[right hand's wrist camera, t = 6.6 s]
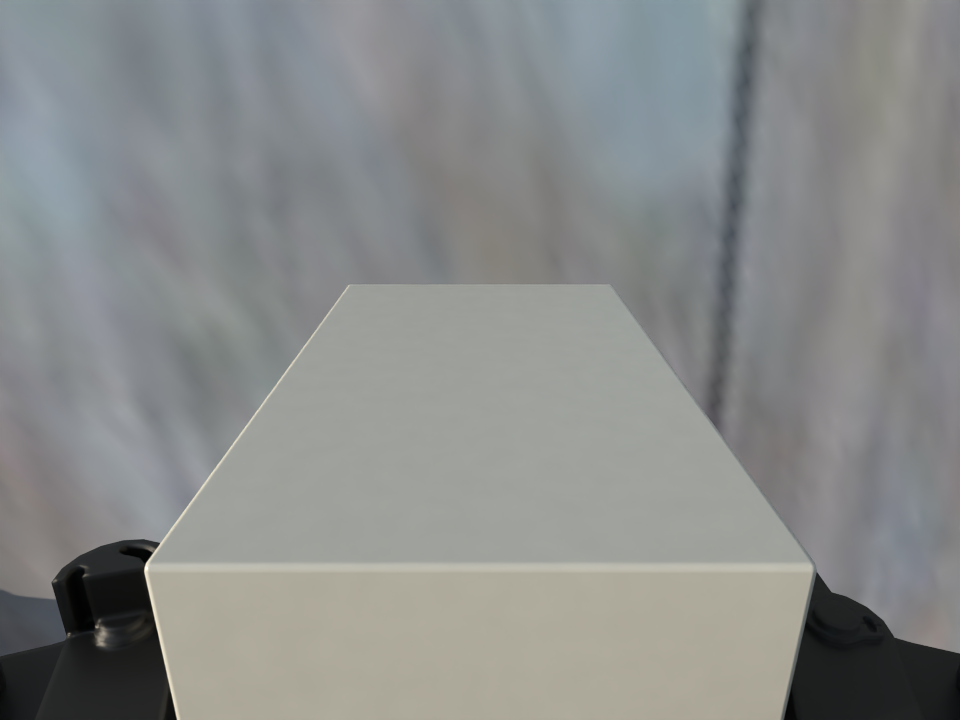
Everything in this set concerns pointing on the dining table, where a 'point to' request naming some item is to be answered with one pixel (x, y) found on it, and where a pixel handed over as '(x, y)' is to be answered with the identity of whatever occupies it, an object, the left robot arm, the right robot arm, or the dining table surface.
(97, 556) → the right robot arm
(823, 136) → the dining table surface
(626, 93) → the dining table surface
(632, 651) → the bar
